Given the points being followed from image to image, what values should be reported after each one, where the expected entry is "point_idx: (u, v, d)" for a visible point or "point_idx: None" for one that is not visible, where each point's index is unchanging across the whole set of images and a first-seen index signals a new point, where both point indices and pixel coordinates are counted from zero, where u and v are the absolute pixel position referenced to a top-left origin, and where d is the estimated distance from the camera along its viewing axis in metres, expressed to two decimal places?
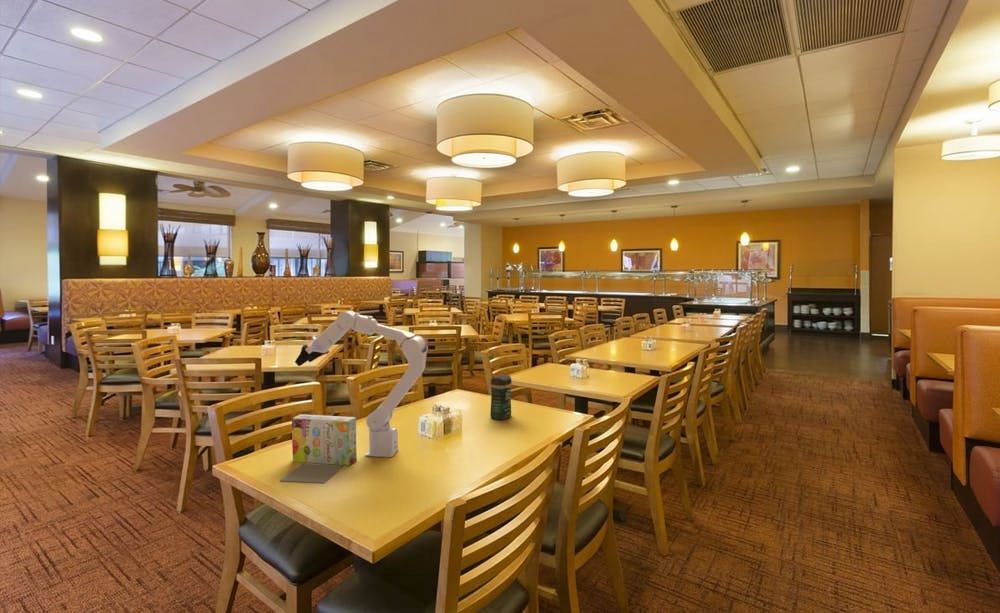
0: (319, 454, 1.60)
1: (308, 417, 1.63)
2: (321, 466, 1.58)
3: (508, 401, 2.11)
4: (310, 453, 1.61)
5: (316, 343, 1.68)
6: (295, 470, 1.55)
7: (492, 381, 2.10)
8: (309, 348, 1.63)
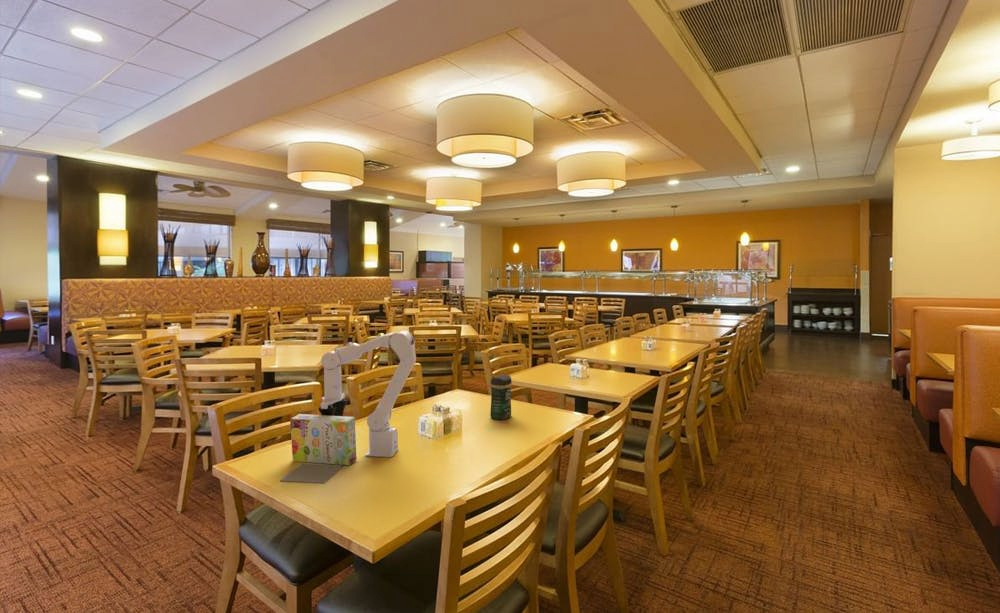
0: (319, 454, 1.60)
1: (307, 417, 1.62)
2: (321, 466, 1.58)
3: (508, 401, 2.11)
4: (310, 453, 1.61)
5: (327, 398, 1.67)
6: (295, 470, 1.55)
7: (492, 381, 2.10)
8: (323, 404, 1.62)
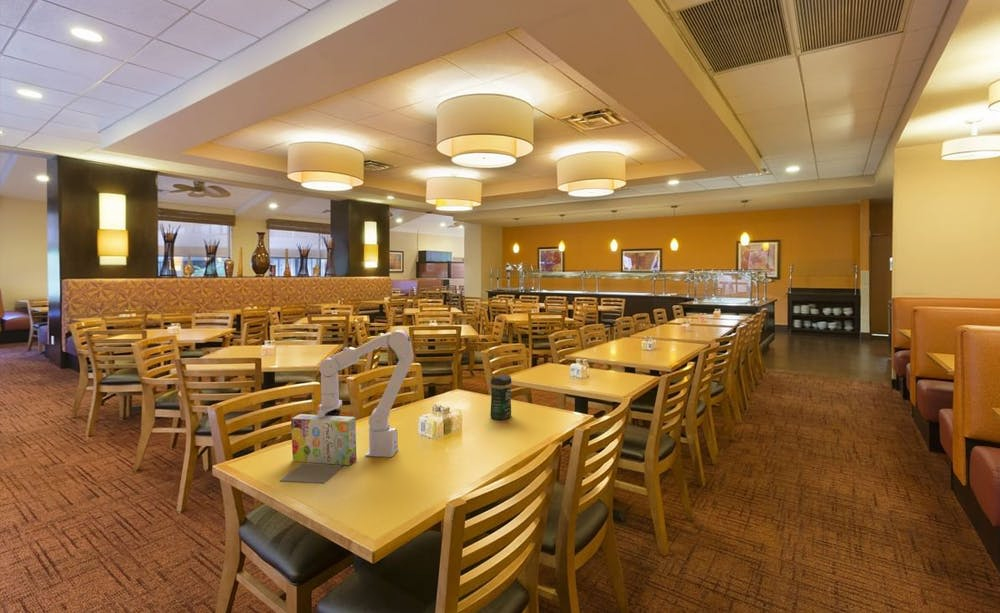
0: (319, 454, 1.60)
1: (307, 417, 1.62)
2: (321, 466, 1.58)
3: (508, 401, 2.11)
4: (310, 453, 1.61)
5: (324, 406, 1.65)
6: (295, 470, 1.55)
7: (492, 381, 2.10)
8: (319, 412, 1.60)
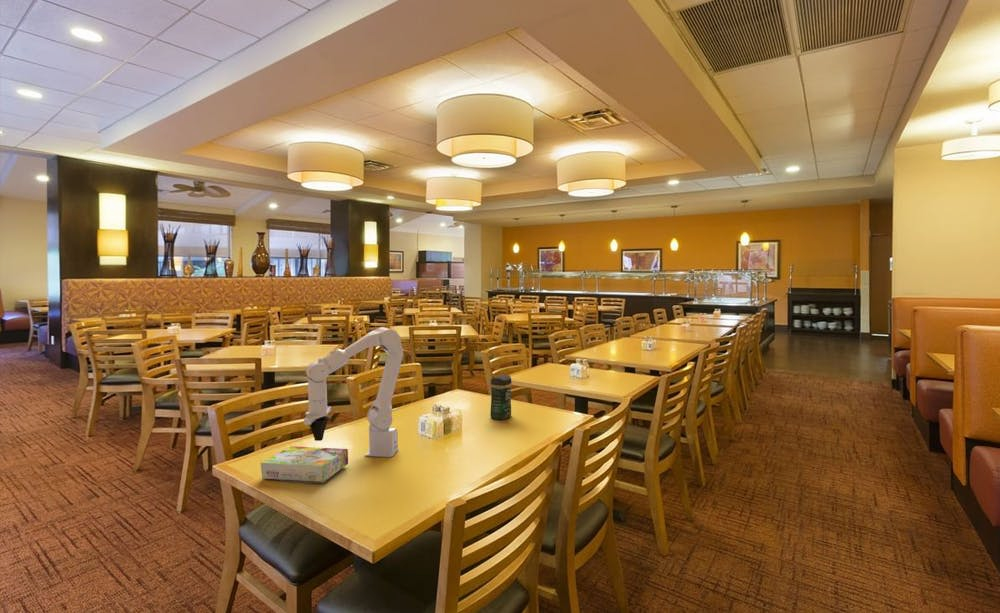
0: None
1: (276, 475, 1.47)
2: None
3: (508, 401, 2.11)
4: None
5: (311, 413, 1.56)
6: None
7: (492, 381, 2.10)
8: (306, 420, 1.51)
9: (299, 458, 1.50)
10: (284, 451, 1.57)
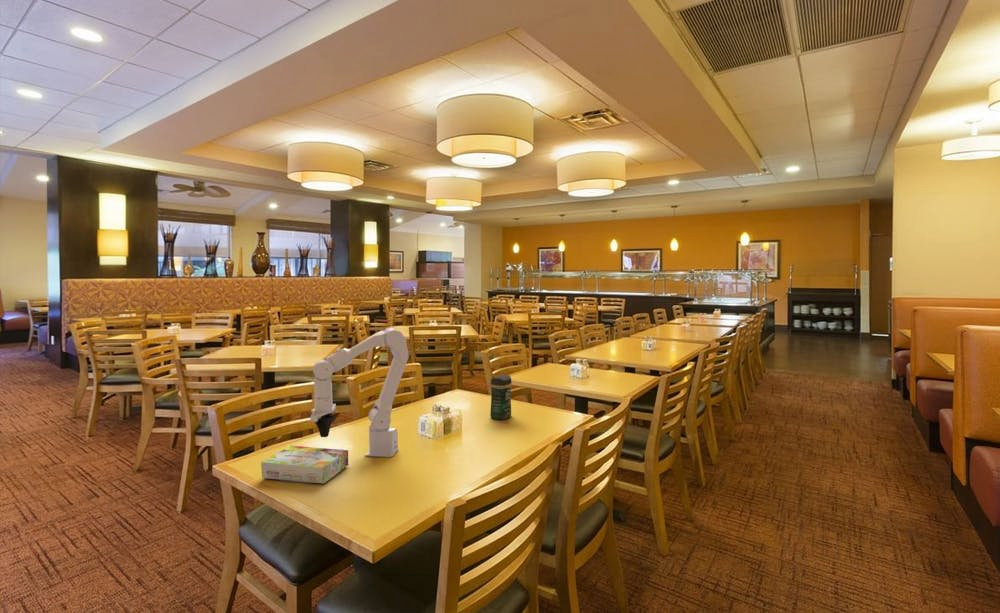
0: None
1: (277, 475, 1.47)
2: None
3: (508, 401, 2.11)
4: None
5: (317, 410, 1.60)
6: None
7: (492, 381, 2.10)
8: (312, 417, 1.55)
9: (299, 458, 1.50)
10: (284, 451, 1.57)
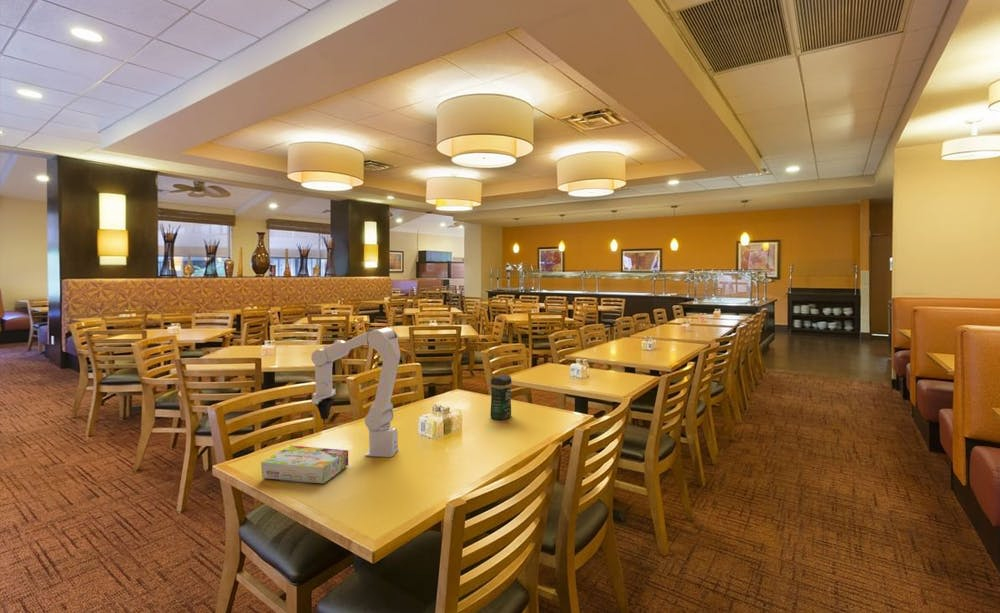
0: None
1: (277, 475, 1.47)
2: None
3: (508, 401, 2.11)
4: None
5: (318, 394, 1.73)
6: None
7: (492, 381, 2.10)
8: (314, 399, 1.68)
9: (299, 458, 1.50)
10: (284, 451, 1.57)
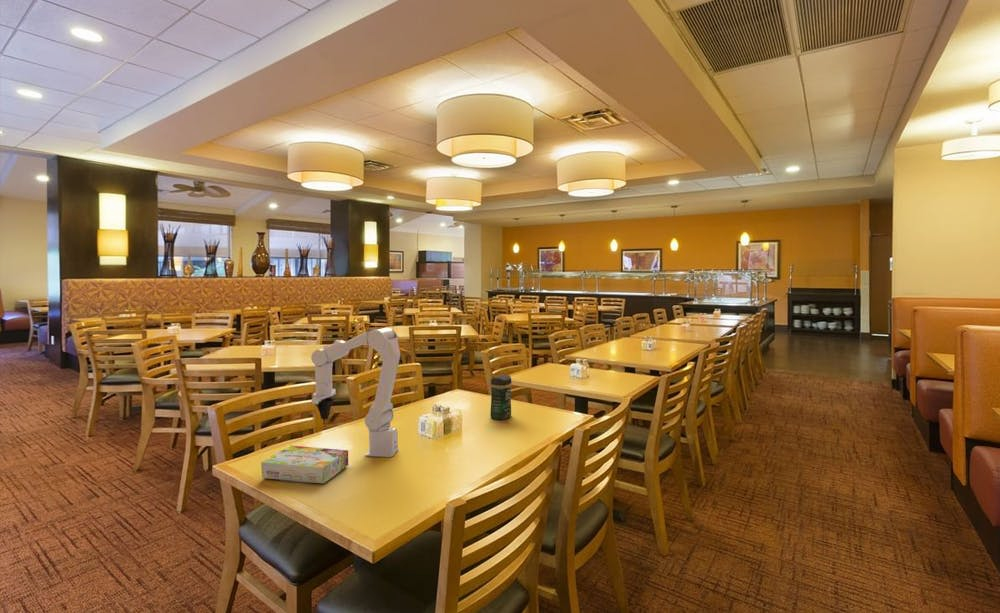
0: None
1: (277, 475, 1.47)
2: None
3: (508, 401, 2.11)
4: None
5: (318, 394, 1.73)
6: None
7: (492, 381, 2.10)
8: (314, 400, 1.69)
9: (299, 458, 1.50)
10: (284, 451, 1.57)
